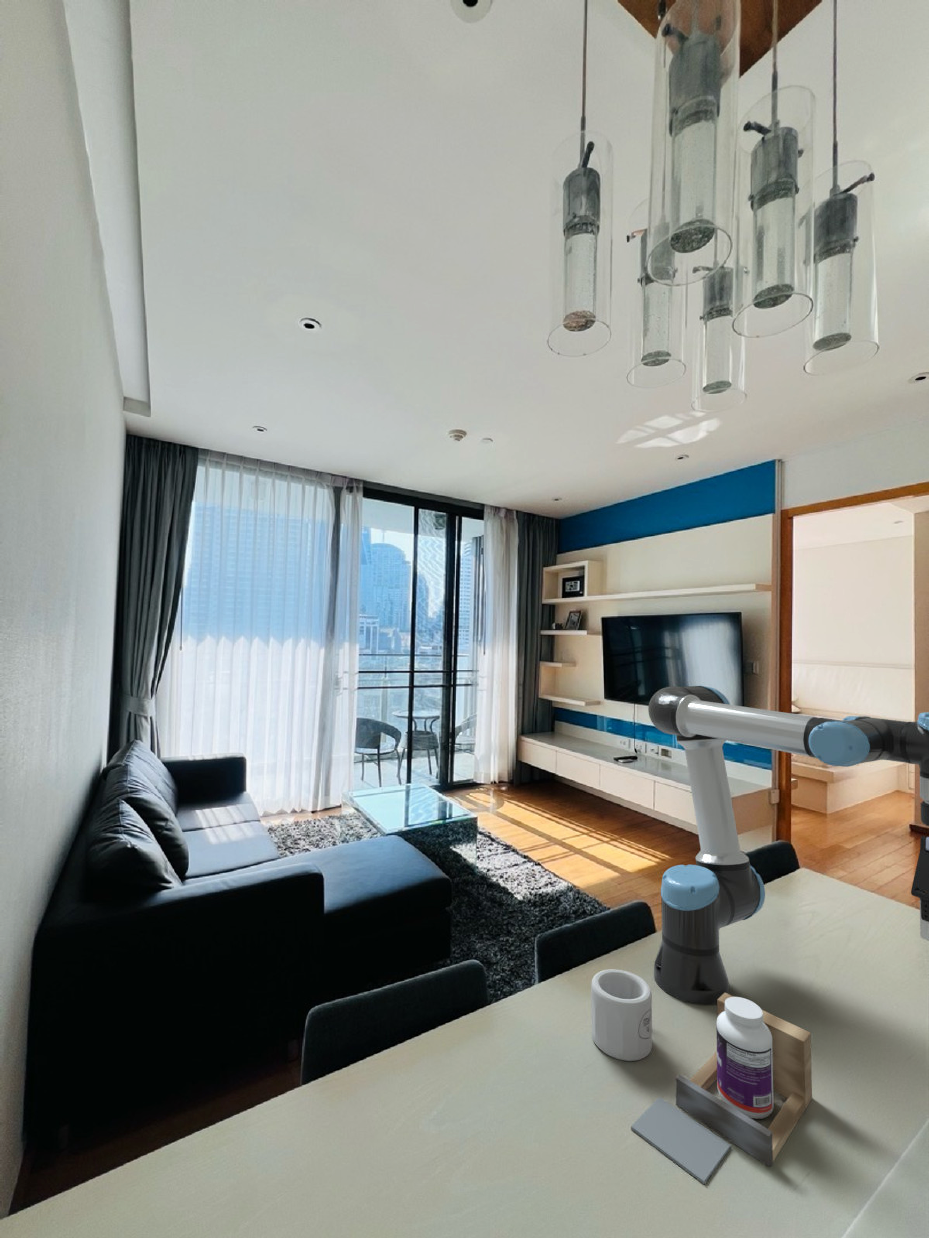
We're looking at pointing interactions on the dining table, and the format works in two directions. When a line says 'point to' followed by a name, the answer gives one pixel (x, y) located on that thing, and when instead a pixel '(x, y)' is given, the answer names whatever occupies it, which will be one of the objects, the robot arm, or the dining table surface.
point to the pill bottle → (745, 1058)
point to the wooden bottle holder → (787, 1080)
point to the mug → (621, 1014)
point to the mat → (681, 1139)
